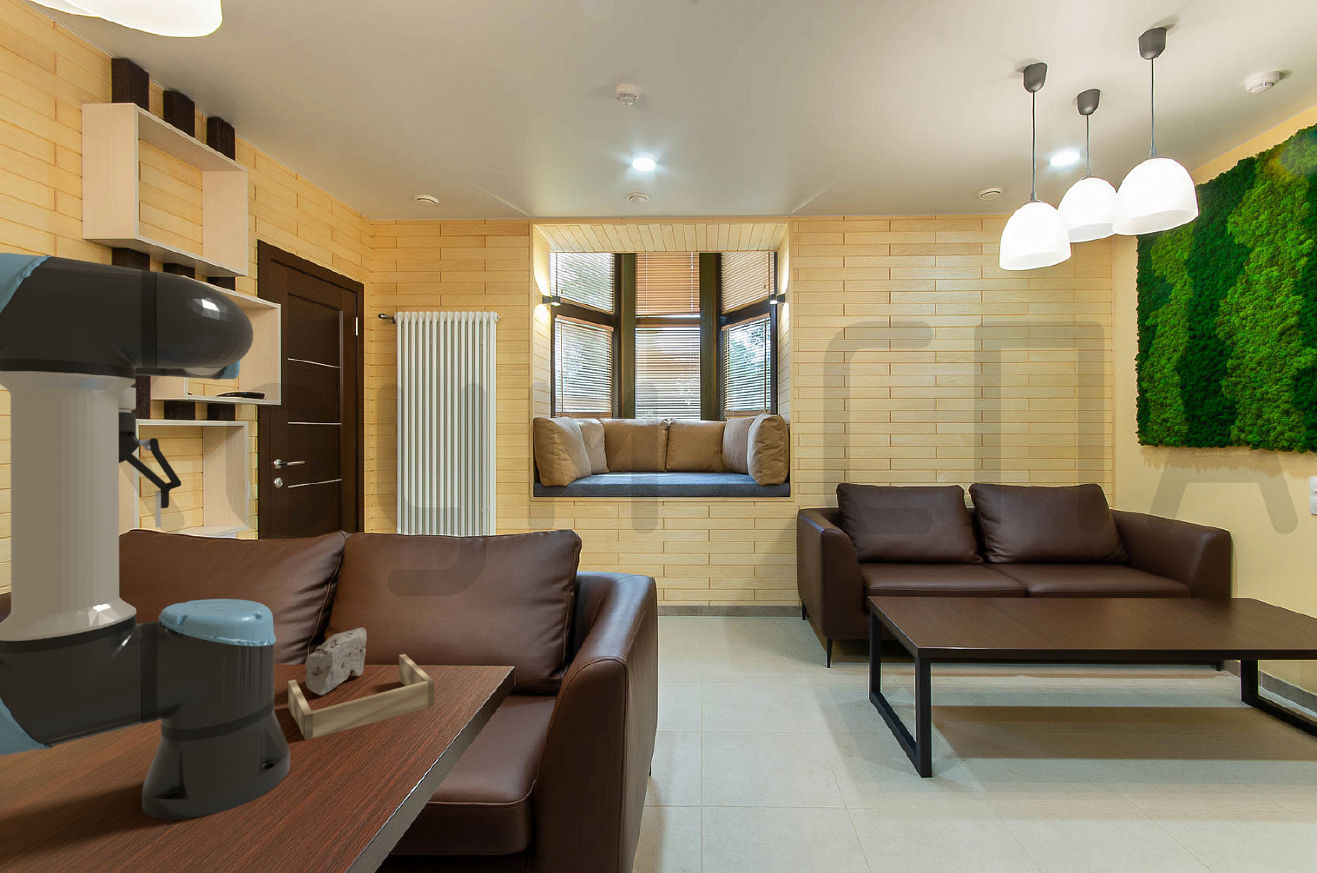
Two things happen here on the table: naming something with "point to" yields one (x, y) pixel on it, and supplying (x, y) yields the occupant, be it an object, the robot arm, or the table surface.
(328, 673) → the stone
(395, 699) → the bracket
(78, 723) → the robot arm
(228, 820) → the table surface
